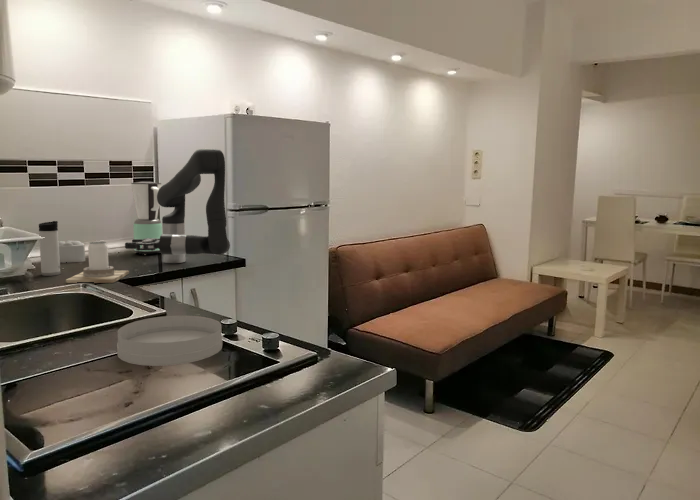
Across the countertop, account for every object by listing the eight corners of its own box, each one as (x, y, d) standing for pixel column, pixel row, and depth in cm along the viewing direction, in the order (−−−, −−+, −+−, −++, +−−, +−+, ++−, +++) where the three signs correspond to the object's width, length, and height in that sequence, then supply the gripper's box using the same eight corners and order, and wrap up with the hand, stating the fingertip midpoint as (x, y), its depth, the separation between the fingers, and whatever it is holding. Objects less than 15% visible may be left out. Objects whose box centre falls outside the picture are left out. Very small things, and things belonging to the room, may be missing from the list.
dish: (238, 339, 128) (238, 319, 127) (192, 371, 106) (191, 347, 106) (154, 332, 132) (154, 312, 132) (93, 361, 111) (92, 338, 110)
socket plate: (85, 273, 206) (85, 264, 206) (129, 273, 208) (128, 264, 207) (66, 282, 188) (65, 272, 188) (113, 282, 190) (113, 272, 190)
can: (101, 276, 194) (99, 243, 193) (85, 275, 196) (83, 243, 194) (112, 273, 201) (111, 241, 199) (97, 272, 202) (95, 241, 200)
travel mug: (64, 273, 206) (62, 221, 203) (49, 276, 200) (45, 222, 197) (53, 272, 208) (50, 220, 206) (37, 274, 202) (34, 221, 200)
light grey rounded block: (85, 261, 235) (84, 241, 234) (51, 263, 229) (50, 243, 228) (85, 258, 244) (84, 239, 243) (52, 259, 238) (51, 240, 237)
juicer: (127, 253, 262) (124, 180, 257) (152, 250, 271) (150, 180, 267) (146, 257, 249) (144, 181, 244) (172, 254, 259) (170, 181, 254)
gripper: (178, 232, 206) (134, 231, 204) (169, 236, 192) (122, 236, 190) (178, 251, 207) (134, 250, 206) (170, 257, 193) (123, 257, 192)
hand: (128, 243), depth 198 cm, fingers open, 8 cm apart
